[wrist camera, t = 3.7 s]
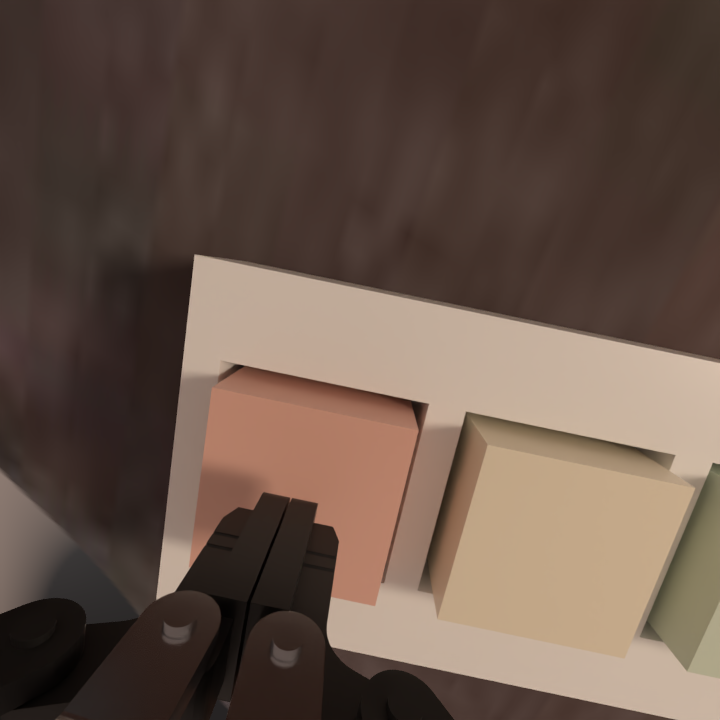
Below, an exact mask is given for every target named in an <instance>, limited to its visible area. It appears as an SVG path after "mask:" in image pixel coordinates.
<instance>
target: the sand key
mask: <svg viewBox="0 0 720 720" xmlns="http://www.w3.org/2000/svg"><path fill="white" fill-rule="evenodd" d="M694 491H695V487H693V486H692V485H690V484H689V483H687V482H686V481H684V480H683V479H681V478H680V477H678V476H677V475H675V474H673V473H672V472H670V471H669V470H667V469H666V468H664V467H663V466H661V465H660V464H658V463H657V462H655V461H654V460H652V459H651V458H649V457H648V456H646V455H645V454H643V453H642V452H640V451H639V450H637V449H636V448H634V447H633V446H630V445H625V444H620V443H615V442H610V441H606V440H601V439H596V438H591V437H586V436H581V435H577V434H572V433H567V432H562V431H557V430H553V429H548V428H543V427H538V426H533V425H529V424H524V423H519V422H514V421H509V420H505V419H500V418H495V417H490V416H485V415H480V414H476V413H471V412H466V414H465V417H464V421H463V425H462V428H461V432H460V436H459V439H458V443H457V447H456V450H455V454H454V458H453V461H452V465H451V469H450V472H449V476H448V480H447V484H446V487H445V491H444V495H443V498H442V502H441V506H440V509H439V513H438V517H437V520H436V524H435V528H434V531H433V535H432V539H431V542H430V546H429V550H428V553H427V562H428V568H429V574H430V580H431V585H432V591H433V597H434V603H435V609H436V614H437V619H439V620H443V621H448V622H453V623H458V624H462V625H467V626H472V627H477V628H481V629H486V630H491V631H496V632H500V633H505V634H510V635H515V636H519V637H524V638H529V639H534V640H539V641H543V642H548V643H553V644H558V645H562V646H567V647H572V648H577V649H581V650H586V651H591V652H596V653H600V654H605V655H610V656H615V657H619V658H624V659H625V656H626V654H627V652H628V649H629V647H630V644H631V642H632V640H633V637H634V635H635V632H636V630H637V628H638V625H639V623H640V620H641V618H642V616H643V613H644V611H645V608H646V606H647V604H648V601H649V599H650V596H651V594H652V592H653V589H654V587H655V584H656V582H657V580H658V577H659V575H660V572H661V570H662V568H663V565H664V563H665V560H666V558H667V556H668V553H669V551H670V548H671V546H672V544H673V541H674V539H675V536H676V534H677V532H678V529H679V527H680V524H681V522H682V520H683V517H684V515H685V512H686V510H687V508H688V505H689V503H690V500H691V498H692V496H693V493H694Z"/></svg>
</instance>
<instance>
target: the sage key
mask: <svg viewBox="0 0 720 720" xmlns="http://www.w3.org/2000/svg"><path fill="white" fill-rule="evenodd" d="M647 621H648V623H649V624H650V625H651V626H652V628H653V629H654V630H655V631H656V633H657V634H658V635H659V637H660V638H661V639H662V640H663V642H664V643H665V644H666V645H667V647H668V648H669V649H670V651H671V652H672V653H673V654H674V656H675V657H676V658H677V659H678V661H679V662H680V663H681V665H682V666H683V667H684V668H685V670H686V671H687V672H691V673H696V674H700V675H705V676H710V677H715V678H719V679H720V464H716V463H713V464H712V466H711V468H710V471H709V473H708V475H707V478H706V480H705V483H704V485H703V487H702V490H701V492H700V495H699V497H698V499H697V502H696V504H695V506H694V509H693V511H692V514H691V516H690V518H689V521H688V523H687V525H686V528H685V530H684V533H683V535H682V537H681V540H680V542H679V544H678V547H677V549H676V552H675V554H674V556H673V559H672V561H671V563H670V566H669V568H668V571H667V573H666V575H665V578H664V580H663V582H662V585H661V587H660V590H659V592H658V594H657V597H656V599H655V601H654V604H653V606H652V609H651V611H650V613H649V616H648V618H647Z"/></svg>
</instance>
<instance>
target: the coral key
mask: <svg viewBox="0 0 720 720" xmlns="http://www.w3.org/2000/svg"><path fill="white" fill-rule="evenodd" d="M418 431H419V430H418V426H417V422H416V419H415V415H414V411H413V407H412V403H411V400H408V399H404V398H399V397H394V396H389V395H384V394H379V393H375V392H370V391H365V390H360V389H355V388H351V387H346V386H341V385H336V384H331V383H327V382H322V381H317V380H312V379H307V378H303V377H298V376H293V375H288V374H283V373H278V372H274V371H269V370H264V369H259V368H254V367H250V366H244V367H242V368H241V369H239V370H238V371H236V372H235V373H233V374H232V375H230V376H229V377H227V378H226V379H224V380H223V381H221V382H219V383H218V384H216V385H215V386H213V387H212V391H211V399H210V406H209V414H208V422H207V430H206V437H205V445H204V453H203V461H202V468H201V476H200V484H199V492H198V500H197V507H196V515H195V523H194V531H193V538H192V546H191V554H190V562H189V567H191V566H192V564H193V563H194V561H195V560H196V558H197V557H198V555H199V554H200V552H201V551H202V549H203V547H204V546H206V543H207V541H208V540H209V538H210V537H211V535H212V534H213V533H214V530H215V529H216V527H217V526H218V524H219V523H220V521H221V520H222V518H223V517H224V516H226V515H227V514H229V513H230V512H232V511H233V510H235V509H236V508H238V507H240V508H245V509H250V510H254V508H255V506H256V504H257V502H258V501H259V499H260V497H261V495H262V493H263V492H266V493H271V494H276V495H281V496H285V497H290V501H291V499H292V498H296V499H300V500H305V501H310V502H315V503H318V507H317V512H316V517H315V522H314V523H318V524H322V525H327V526H332V527H333V528H334V530H335V532H336V535H337V537H338V540H339V545H338V552H337V558H336V566H335V572H334V580H333V586H332V593H331V597H334V598H339V599H343V600H348V601H353V602H358V603H362V604H367V605H372V606H375V605H376V601H377V596H378V592H379V588H380V584H381V580H382V576H383V572H384V568H385V564H386V560H387V556H388V552H389V548H390V544H391V540H392V536H393V532H394V528H395V524H396V520H397V516H398V512H399V508H400V504H401V500H402V496H403V492H404V488H405V484H406V480H407V475H408V471H409V467H410V463H411V459H412V455H413V451H414V447H415V443H416V439H417V435H418Z"/></svg>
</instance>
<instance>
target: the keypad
mask: <svg viewBox="0 0 720 720" xmlns="http://www.w3.org/2000/svg"><path fill="white" fill-rule="evenodd" d="M244 366H250V367H254V368H259V369H264V370H269V371H274V372H278V373H283V374H288V375H293V376H298V377H303V378H307V379H312V380H317V381H322V382H327V383H331V384H336V385H341V386H346V387H351V388H355V389H360V390H365V391H370V392H375V393H379V394H384V395H389V396H394V397H399V398H404V399H408V400H411V403H412V407H413V411H414V415H415V419H416V422H417V426H418V430H419V431H418V435H417V439H416V443H415V447H414V451H413V455H412V459H411V463H410V467H409V471H408V475H407V480H406V484H405V488H404V492H403V496H402V500H401V504H400V508H399V512H398V516H397V520H396V524H395V528H394V532H393V536H392V540H391V544H390V548H389V552H388V556H387V560H386V564H385V568H384V572H383V576H382V580H381V584H380V588H379V592H378V596H377V601H376V605H375V606H372V605H367V604H362V603H358V602H353V601H348V600H343V599H339V598H334V597H331V600H330V607H329V614H328V621H327V637H328V640H329V643H330V646H331V647H334V648H339V649H344V650H349V651H353V652H358V653H363V654H368V655H372V656H377V657H382V658H387V659H391V660H396V661H401V662H406V663H410V664H415V665H420V666H425V667H429V668H434V669H439V670H444V671H448V672H453V673H458V674H463V675H467V676H472V677H477V678H482V679H486V680H491V681H496V682H501V683H505V684H510V685H515V686H520V687H524V688H529V689H534V690H539V691H543V692H548V693H553V694H558V695H562V696H567V697H572V698H577V699H581V700H586V701H591V702H596V703H600V704H605V705H610V706H615V707H619V708H624V709H629V710H634V711H638V712H643V713H648V714H653V715H657V716H662V717H667V718H672V719H676V720H720V679H719V678H715V677H710V676H705V675H700V674H696V673H691V672H687V671H686V670H685V668H684V667H683V666H682V665H681V663H680V662H679V661H678V659H677V658H676V657H675V656H674V654H673V653H672V652H671V651H670V649H669V648H668V647H667V645H666V644H665V643H664V642H663V640H662V639H661V638H660V637H659V635H658V634H657V633H656V631H655V630H654V629H653V628H652V626H651V625H650V624H649V623H648V621H647V618H648V616H649V613H650V611H651V609H652V606H653V604H654V601H655V599H656V597H657V594H658V592H659V590H660V587H661V585H662V582H663V580H664V578H665V575H666V573H667V571H668V568H669V566H670V563H671V561H672V559H673V556H674V554H675V552H676V549H677V547H678V544H679V542H680V540H681V537H682V535H683V533H684V530H685V528H686V525H687V523H688V521H689V518H690V516H691V514H692V511H693V509H694V506H695V504H696V502H697V499H698V497H699V495H700V492H701V490H702V487H703V485H704V483H705V480H706V478H707V475H708V473H709V471H710V468H711V466H712V464H713V463H716V464H720V359H716V358H712V357H707V356H702V355H697V354H692V353H687V352H683V351H678V350H673V349H668V348H663V347H658V346H654V345H649V344H644V343H639V342H634V341H629V340H625V339H620V338H615V337H610V336H605V335H600V334H596V333H591V332H586V331H581V330H576V329H571V328H567V327H562V326H557V325H552V324H547V323H542V322H538V321H533V320H528V319H523V318H518V317H513V316H509V315H504V314H499V313H494V312H489V311H484V310H480V309H475V308H470V307H465V306H460V305H455V304H451V303H446V302H441V301H436V300H431V299H426V298H422V297H417V296H412V295H407V294H402V293H397V292H393V291H388V290H383V289H378V288H373V287H368V286H364V285H359V284H354V283H349V282H344V281H339V280H335V279H330V278H325V277H320V276H315V275H310V274H306V273H301V272H296V271H291V270H286V269H281V268H277V267H272V266H267V265H262V264H257V263H252V262H247V261H240V260H232V259H225V258H217V257H210V256H202V255H195V256H194V265H193V274H192V283H191V292H190V301H189V310H188V319H187V328H186V337H185V346H184V355H183V364H182V373H181V382H180V391H179V400H178V409H177V418H176V427H175V436H174V445H173V454H172V463H171V472H170V481H169V490H168V499H167V508H166V517H165V526H164V535H163V544H162V553H161V562H160V571H159V580H158V589H157V598H156V600H157V599H159V598H161V597H163V596H165V595H167V594H170V593H173V592H175V591H176V589H177V588H178V586H179V584H180V583H181V581H182V580H183V578H184V577H185V575H186V574H187V572H188V571H189V569H190V567H189V562H190V554H191V546H192V538H193V531H194V523H195V515H196V507H197V500H198V492H199V484H200V476H201V468H202V461H203V453H204V445H205V437H206V430H207V422H208V414H209V406H210V399H211V391H212V387H213V386H215V385H216V384H218V383H219V382H221V381H223V380H224V379H226V378H227V377H229V376H230V375H232V374H233V373H235V372H236V371H238V370H239V369H241V368H242V367H244ZM466 412H471V413H476V414H480V415H485V416H490V417H495V418H500V419H505V420H509V421H514V422H519V423H524V424H529V425H533V426H538V427H543V428H548V429H553V430H557V431H562V432H567V433H572V434H577V435H581V436H586V437H591V438H596V439H601V440H606V441H610V442H615V443H620V444H625V445H630V446H633V447H634V448H636V449H637V450H639V451H640V452H642V453H643V454H645V455H646V456H648V457H649V458H651V459H652V460H654V461H655V462H657V463H658V464H660V465H661V466H663V467H664V468H666V469H667V470H669V471H670V472H672V473H673V474H675V475H677V476H678V477H680V478H681V479H683V480H684V481H686V482H687V483H689V484H690V485H692V486H693V487H695V491H694V493H693V496H692V498H691V500H690V503H689V505H688V508H687V510H686V512H685V515H684V517H683V520H682V522H681V524H680V527H679V529H678V532H677V534H676V536H675V539H674V541H673V544H672V546H671V548H670V551H669V553H668V556H667V558H666V560H665V563H664V565H663V568H662V570H661V572H660V575H659V577H658V580H657V582H656V584H655V587H654V589H653V592H652V594H651V596H650V599H649V601H648V604H647V606H646V608H645V611H644V613H643V616H642V618H641V620H640V623H639V625H638V628H637V630H636V632H635V635H634V637H633V640H632V642H631V644H630V647H629V649H628V652H627V654H626V656H625V659H624V658H619V657H615V656H610V655H605V654H600V653H596V652H591V651H586V650H581V649H577V648H572V647H567V646H562V645H558V644H553V643H548V642H543V641H539V640H534V639H529V638H524V637H519V636H515V635H510V634H505V633H500V632H496V631H491V630H486V629H481V628H477V627H472V626H467V625H462V624H458V623H453V622H448V621H443V620H439V619H437V614H436V609H435V603H434V597H433V591H432V585H431V580H430V574H429V568H428V562H427V553H428V550H429V546H430V542H431V539H432V535H433V531H434V528H435V524H436V520H437V517H438V513H439V509H440V506H441V502H442V498H443V495H444V491H445V487H446V484H447V480H448V476H449V472H450V469H451V465H452V461H453V458H454V454H455V450H456V447H457V443H458V439H459V436H460V432H461V428H462V425H463V421H464V417H465V414H466Z"/></svg>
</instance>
